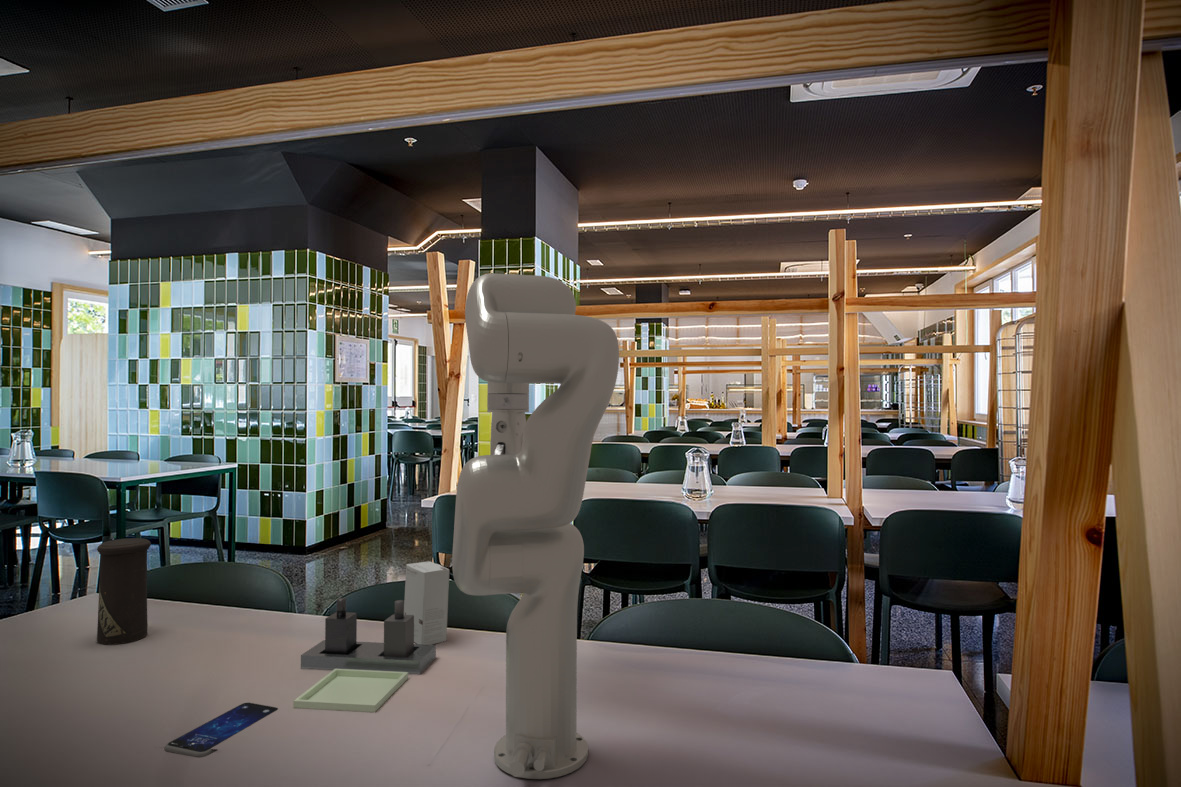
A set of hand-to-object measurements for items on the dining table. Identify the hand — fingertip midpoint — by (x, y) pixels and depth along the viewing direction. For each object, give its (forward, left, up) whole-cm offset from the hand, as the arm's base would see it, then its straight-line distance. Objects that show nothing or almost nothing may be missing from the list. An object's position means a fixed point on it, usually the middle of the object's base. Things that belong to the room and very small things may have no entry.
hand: (507, 499), depth 124 cm
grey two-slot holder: (-2, +25, -30) cm, 39 cm away
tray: (-15, +22, -30) cm, 40 cm away
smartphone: (-28, +35, -31) cm, 54 cm away
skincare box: (+13, +20, -31) cm, 39 cm away
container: (+6, +81, -31) cm, 87 cm away
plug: (-2, +19, -30) cm, 35 cm away
